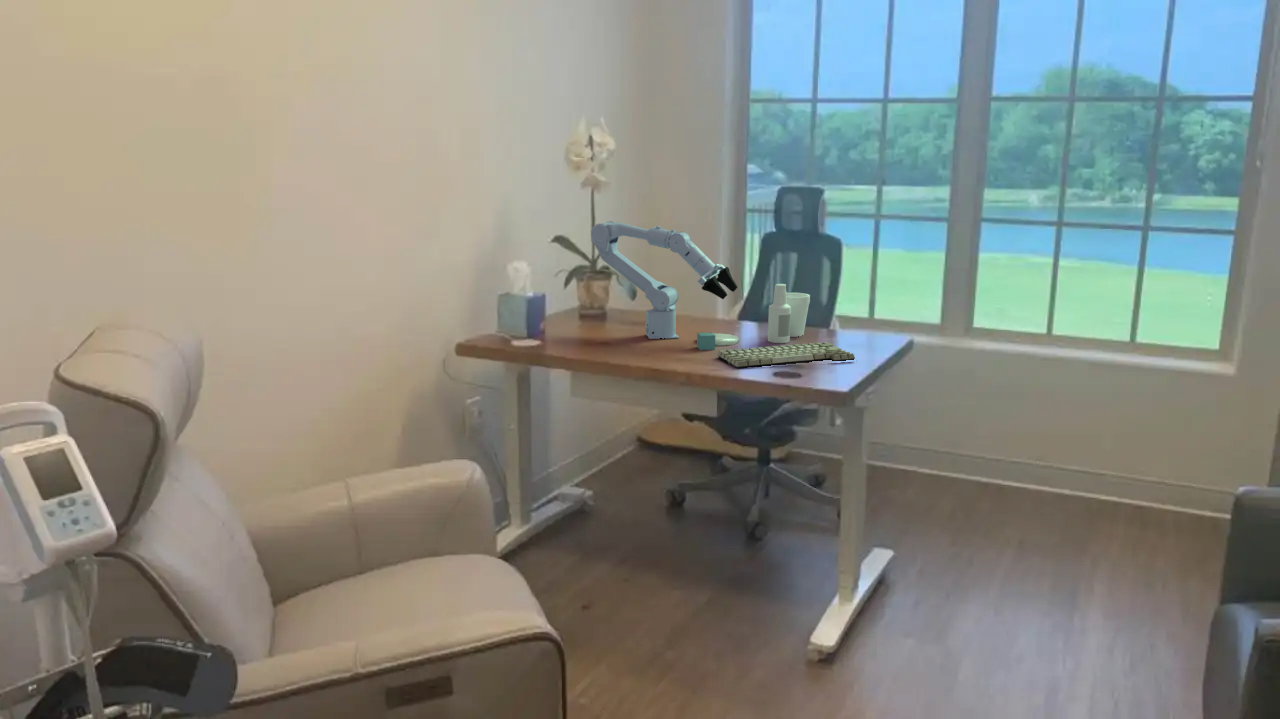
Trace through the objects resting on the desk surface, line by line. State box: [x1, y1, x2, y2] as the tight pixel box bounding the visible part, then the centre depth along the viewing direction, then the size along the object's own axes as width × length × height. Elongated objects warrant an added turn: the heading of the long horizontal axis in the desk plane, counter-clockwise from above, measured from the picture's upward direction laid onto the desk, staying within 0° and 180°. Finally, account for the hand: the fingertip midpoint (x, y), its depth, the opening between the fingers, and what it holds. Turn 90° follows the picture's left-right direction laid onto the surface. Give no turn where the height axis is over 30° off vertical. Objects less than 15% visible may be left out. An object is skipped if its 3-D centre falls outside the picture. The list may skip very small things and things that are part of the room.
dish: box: [712, 332, 739, 347], centre depth 318 cm, size 13×13×1 cm
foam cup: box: [786, 292, 811, 338], centre depth 327 cm, size 10×9×13 cm
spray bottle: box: [767, 283, 791, 344], centre depth 317 cm, size 7×7×18 cm
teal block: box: [696, 332, 716, 351], centre depth 308 cm, size 4×4×4 cm
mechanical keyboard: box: [716, 341, 856, 369], centre depth 295 cm, size 38×19×3 cm, turn 109°
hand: (730, 293), depth 314 cm, fingers open, 7 cm apart
